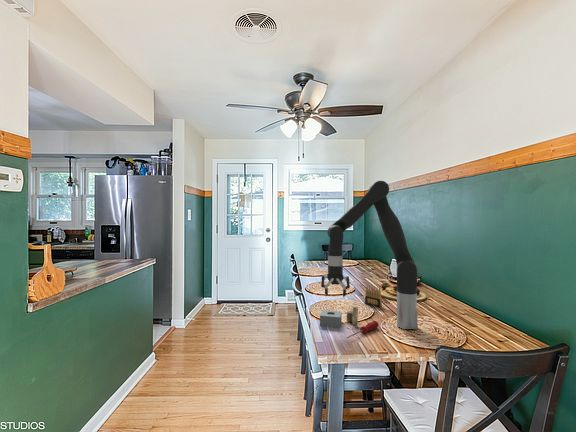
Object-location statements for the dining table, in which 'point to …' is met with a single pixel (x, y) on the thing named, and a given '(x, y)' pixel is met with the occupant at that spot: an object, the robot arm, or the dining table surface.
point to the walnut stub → (349, 316)
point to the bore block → (330, 318)
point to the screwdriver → (367, 328)
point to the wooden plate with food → (392, 292)
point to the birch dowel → (355, 315)
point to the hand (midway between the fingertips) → (335, 296)
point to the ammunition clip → (373, 297)
